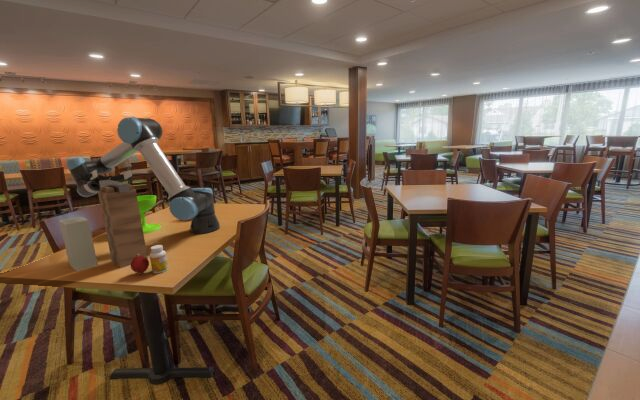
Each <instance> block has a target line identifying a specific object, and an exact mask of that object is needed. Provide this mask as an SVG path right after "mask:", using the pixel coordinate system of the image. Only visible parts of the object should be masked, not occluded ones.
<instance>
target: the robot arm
mask: <svg viewBox="0 0 640 400" xmlns="http://www.w3.org/2000/svg"><path fill="white" fill-rule="evenodd" d="M116 130H117V131H116V132H117V135H118V138H119V140H121V141H122V142H121V143H120V144H118V145H117V146H115V147H113V148H112V149H110V150H109V151H108V152H106V153H105V154H104V155H102V156H101V157H99V158H97V159H96V160H95V159H94V160H88V161H87V160H85V158H84V157H82V156H79V157H74V158H70V159H68V160H66V162H65V163H66V166H67V168H68V171H69V173H70V174H71V176H72V178H73V179H74V182H75V184H76V186H77V188H76V192H77V193H78V195H79V196H81V197H84V198H88V197H92V196H94V195H97V194H98V191H100V184H99V181H102V180H113V181H118V182H123V183H124V182H127V181H131V180H132V176H133V172H132V170H131V169H129V170H127V171H125V172H124V173H123V174H119V175H113V176H112V175H107V176H104V175H103V174H105V175H106V174H108V173H112V172H114V169H115V167H117V166H118V165H120V164H121V163H122V162H125V161H126V160H127V159H129V158H130V157H132V156H134V155H135V154H136V153H138V152H139V153H140V155H141V156H142V157H143V159H144V160H145V161H146V164H147V165H148V166H149V168H150V169H151V171H152V173H153V174H154V175H155V176H156V178H157V179H158V181H159V182H160V183H161V185H162V187H163V188H164V189H165V192H167V194H168V197H167V201H168V202H169V207H168V209H169V212H170V213H171V215H172V216H173V217H175V218H176V219H177V220H181V221H187V220H188V221H189V220H190V219H191V222H190V229H189V230H190V232H191V233H192V234H207V233H212V232H216V231H217V230H219V229H221V225H220V221H219V220H218V217H217V216H216V210H215V202H214V201H215V200H214V193H213V189H212V188H211V187H195V188H194V187H193V188H191V186H188V185H186V184H185V182H184V181H183V180H182V178H181V177H180V176H179V174H178V173H177V171H176V169H175V167H174V166H173V165H172V163H171V162H170V160H169V159H168V157H167V156H166V154H165V153H164V152H163V150H162V148H161V147H160V145H159V144H158V142H159V140H161V138H162V136H163V129H162V126H161V124H160V123H159V122H158V121H157V120H155V119H152V118H149V117H146V118H145V117H135V116H131V117H123V118H122V119H121V120H120V121H119V122H118V124H117V129H116Z"/></svg>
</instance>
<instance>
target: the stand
mask: <svg viewBox="0 0 640 400" xmlns="http://www.w3.org/2000/svg"><path fill="white" fill-rule="evenodd" d="M129 188H130V192H123V193H118V192H115V191H114V188H113V187H109V186H100V191H98V193H97V194H98V199H99V204H100V208H101V214H102V220H103V224H104V229H105V234H106V239H107V244H108V248H109V254H110V258H111V263H113V264H114V265H116V266H117V267H120V268H124V267H128V266H131V262H132V260H133V259H134V258H135V257H136V255H137V254H140V255H141V256H144V257H146V258H147V259H148V253H147V248H146V247H147V246H146V241H145V240H146V239H145V235H144V234H145V233H144V234H143V228H142V220H141V214H140V211H139V205H138V199H137V196H138V195H137V189H136V188H134V187H133V184H129ZM148 260H149V259H148Z"/></svg>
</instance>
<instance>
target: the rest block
mask: <svg viewBox="0 0 640 400" xmlns="http://www.w3.org/2000/svg"><path fill="white" fill-rule="evenodd" d="M58 221H59V226H60V231H61V235H62V239H63V242H64V243H63V244H64V247H65V253H66V255H67V260H68V264H69V265H68V266H69V267H71V268H72V269H73V270H75V272H79V271H81V270H85V269H89V268H92V267H95V266H98V265H99V264H98V259H97V255H96V250H95V246H94V240H93V235H92V231H91V228H90V227H91V226H90V221H89V219H87V218H85V217H84V216H76V217H71V218H65V219H60V220H58Z"/></svg>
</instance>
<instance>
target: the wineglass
mask: <svg viewBox="0 0 640 400" xmlns="http://www.w3.org/2000/svg"><path fill="white" fill-rule="evenodd" d="M137 199H138V205H139V211H140V217H141V222H142V228H143V234H148V233H154V232H156V231H158V230H160V229H161V228H162V226H161V224H158V223H147V221H146V215H145V214H146V212H148V211H151V209H153V208H154V206H155V205H156V203H157V195H151V194H145V195H137Z"/></svg>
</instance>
